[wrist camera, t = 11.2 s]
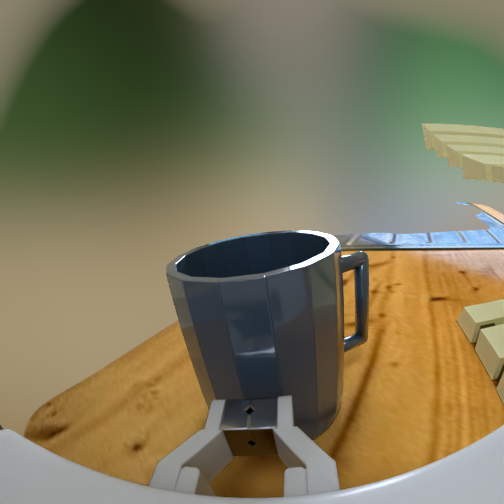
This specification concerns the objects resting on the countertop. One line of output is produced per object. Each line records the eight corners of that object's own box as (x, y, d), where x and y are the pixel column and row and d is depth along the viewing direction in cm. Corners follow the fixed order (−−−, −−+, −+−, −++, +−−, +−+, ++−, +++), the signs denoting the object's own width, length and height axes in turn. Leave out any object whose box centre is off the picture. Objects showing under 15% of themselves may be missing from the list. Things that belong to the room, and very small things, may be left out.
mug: (230, 469, 11) (166, 301, 8) (203, 383, 18) (166, 252, 16) (401, 392, 13) (417, 233, 11) (334, 339, 21) (327, 218, 19)
